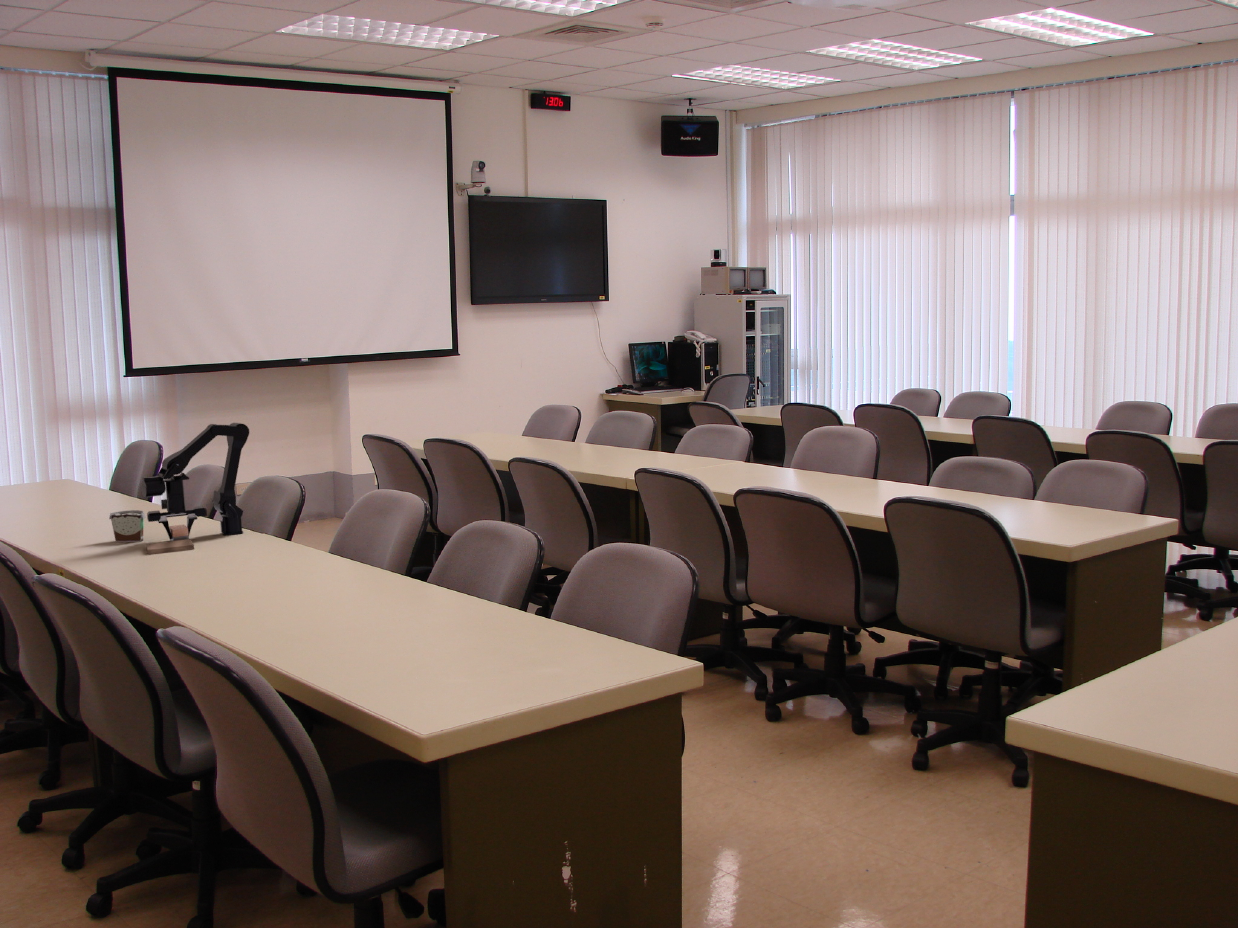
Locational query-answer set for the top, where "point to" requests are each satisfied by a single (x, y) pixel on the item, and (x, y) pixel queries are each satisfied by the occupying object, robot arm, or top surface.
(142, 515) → the food container
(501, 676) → the top surface
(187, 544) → the walnut stand
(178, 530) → the block
